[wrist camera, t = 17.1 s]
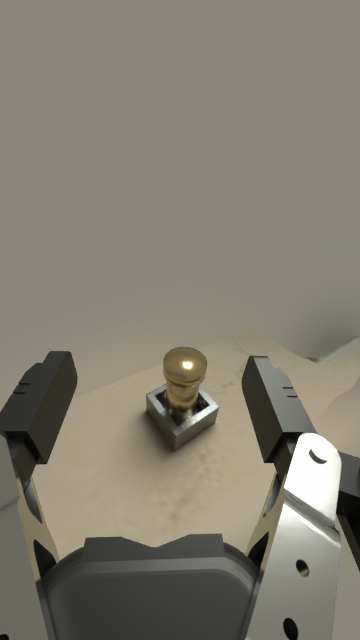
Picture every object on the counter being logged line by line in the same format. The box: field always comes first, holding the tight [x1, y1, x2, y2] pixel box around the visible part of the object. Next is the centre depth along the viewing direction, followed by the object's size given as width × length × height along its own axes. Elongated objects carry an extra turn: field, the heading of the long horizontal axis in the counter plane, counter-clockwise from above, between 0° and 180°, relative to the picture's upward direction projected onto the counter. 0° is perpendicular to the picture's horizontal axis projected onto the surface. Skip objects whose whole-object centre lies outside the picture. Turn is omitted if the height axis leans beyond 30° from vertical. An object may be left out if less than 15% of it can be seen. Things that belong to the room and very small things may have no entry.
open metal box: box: [146, 383, 219, 451], centre depth 41 cm, size 9×9×4 cm
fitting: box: [163, 347, 207, 427], centre depth 38 cm, size 6×6×13 cm
